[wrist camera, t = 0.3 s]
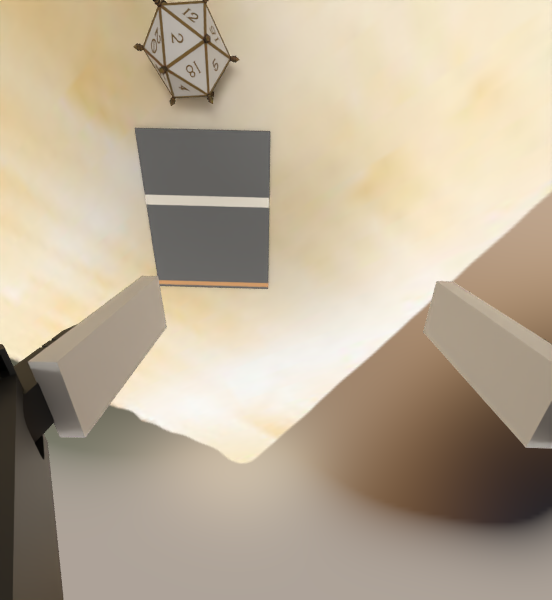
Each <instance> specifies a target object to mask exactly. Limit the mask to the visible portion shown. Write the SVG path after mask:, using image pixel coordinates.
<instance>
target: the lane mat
mask: <svg viewBox="0 0 552 600" xmlns="http://www.w3.org/2000/svg"><path fill="white" fill-rule="evenodd" d="M135 133H136V140H137V146H138V153H139V159H140V166H141V172H142V178H143V185H144V191H145V200H146V204H147V211H148V217H149V224H150V230H151V236H152V243H153V249H154V256H155V262H156V269H157V275H158V279H159V285H160V286H181V287H218V288H254V289H268V258H269V182H270V131H239V130H200V129H160V128H135Z"/></svg>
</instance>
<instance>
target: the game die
mask: <svg viewBox="0 0 552 600" xmlns="http://www.w3.org/2000/svg"><path fill="white" fill-rule="evenodd" d="M153 1H154V2H155V4H156V5H157V6H158V7H157V10H156V13H155V15H154V18H153V21H152V23H151V26H150V29H149V31H148V34H147V37H146V40H145V42H144V45H143V46H142V45H140V44H136V45H135V46H134V48H135V49H137V50H138V51H139V50H140V51H142V50H144V51H145V53H146V55H147V56H148V58H149V59H150V61H151V63H152V64H153V66H154V67H155V69H156V71H157V72H158V74H159V75H160V77H161V79H162V80H163V82H164V84H165V85H166V87H167V88H168V90H169V92H170V93H171V95H172V98H171V100H170V104H171V106H172V105H173V104H175V102H176V101H175V98H186V97H205V96H207V97H208V98H207V99H208V100H209V101H208V102H210V103H212V104H213V98H212V96H213V97H214V92H213V89H214V87H215V86H216V84H217V82H218V81H219V79H220V77H221V75H222V74H223V72H224V70H225V69H226V67H227V65H228V64H229V62H230V61H233V62H235V63H236V62H237V61H238V60H239V59H238V58H237V57H236V56H230V55H229V53H228V51H227V48H226V46H225V44H224V42H223V40H222V37H221V35H220V33H219V31H218V29H217V27H216V24H215V22H214V20H213V18H212V16H211V13H210V11H209V9H208V7H207V5H206V3H207V1H208V0H203V1H194V2H177V3H167V2H166V1H164V0H161V2H160V0H153Z"/></svg>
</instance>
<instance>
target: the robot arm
mask: <svg viewBox="0 0 552 600" xmlns="http://www.w3.org/2000/svg"><path fill="white" fill-rule="evenodd" d="M166 327H167V326H166V320H165V314H164V308H163V302H162V296H161V291H160V285H159V279H158V276H141V277H140V278H139V279H137V280H136V281H135V282H133V283H132V284H131V285H129V286H128V287H127V288H125V289H124V290H123V291H121V292H120V293H119V294H117V295H116V296H115V297H113V298H112V299H111V300H109V301H108V302H107V303H105V304H104V305H103V306H101V307H100V308H99V309H97V310H96V311H95V312H93V313H92V314H91V315H89V316H88V317H87V318H85V319H84V320H83V321H81V322H80V323H79V324H77V325H74V326H72V327H70V328H68V329H66V330H63V331H62V332H61V333H59V334H58V335H56V336H55V337H54V338H52V340H51V341H48V342H47V343H45V344H44V345H43V346H42V348H39V349H37V350H36V351H34V352H33V353H32V354H30V355H29V356H28V357H26V358H25V359H23V360H22V361H21V362H19V363H18V364H17V365H15V366H14V367H13V365H12V363H11V360H10V358H9V356H8V354H7V352H6V349H5V348H4V346H3V345H2V344H0V600H63V590H62V580H61V571H60V560H59V550H58V541H57V530H56V521H55V511H54V501H53V491H52V481H51V471H50V462H49V451H48V442H47V440H46V437H45V435H44V433H45V431H46V430H47V429H48V428H49V427H50V426H51V425H52V424H53V423H54V425H55V427H56V429H57V431H58V434H59V436H60V437H80V438H85V437H86V436H87V435H88V433H89V432H90V430H91V429H92V428H93V426H94V425H95V424H96V422H97V421H98V420H99V418H100V417H101V416H102V414H103V413H104V411H105V410H106V409H107V407H108V406H109V405H110V403H111V402H112V401H113V399H114V398H115V396H116V395H117V394H118V392H119V391H120V390H121V388H122V387H123V386H124V384H125V383H126V382H127V380H128V379H129V377H130V376H131V375H132V373H133V372H134V371H135V369H136V368H137V367H138V365H139V364H140V363H141V361H142V360H143V358H144V357H145V356H146V354H147V353H148V352H149V350H150V349H151V348H152V346H153V345H154V344H155V342H156V341H157V339H158V338H159V337H160V335H161V334H162V333H163V331H164V330H165V329H166ZM423 332H424V333H425V335H426V336H427V337H428V338H429V339H430V340H431V341H432V342H433V344H434V345H435V346H436V347H437V348H438V349H439V350H440V351H441V352H442V354H443V355H444V356H445V357H446V358H447V359H448V360H449V362H450V363H451V364H452V365H453V366H454V367H455V368H456V369H457V370H458V372H459V373H460V374H461V375H462V376H463V377H464V378H465V380H467V382H468V383H469V384H470V385H471V386H472V387H473V388H474V390H475V391H476V392H477V393H478V394H479V395H480V396H481V398H482V399H483V400H484V401H485V402H486V403H487V404H488V405H489V406H490V408H491V409H492V410H493V411H494V412H495V413H496V414H497V415H498V417H499V418H500V419H501V420H502V421H503V422H504V423H505V424H506V425H507V427H508V428H509V429H510V430H511V431H512V432H513V433H514V435H515V436H516V437H517V438H518V439H519V440H520V441H521V442H522V443H523V445H524V446H525V447H526V448H552V344H551V343H549V342H548V341H546V340H545V339H543V338H541V337H539V336H538V335H536V334H535V333H533V332H531V331H530V330H528V329H527V328H525V327H524V326H522V325H520V324H519V323H517V322H516V321H514V320H513V319H511V318H509V317H508V316H506V315H505V314H503V313H502V312H500V311H498V310H497V309H495V308H494V307H492V306H491V305H489V304H487V303H486V302H484V301H483V300H481V299H480V298H478V297H476V296H475V295H473V294H472V293H470V292H469V291H467V290H465V289H464V288H462V287H460V286H459V285H457V284H456V283H454V282H449V281H437V282H436V285H435V289H434V293H433V297H432V301H431V304H430V308H429V312H428V316H427V320H426V324H425V327H424V331H423Z"/></svg>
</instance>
